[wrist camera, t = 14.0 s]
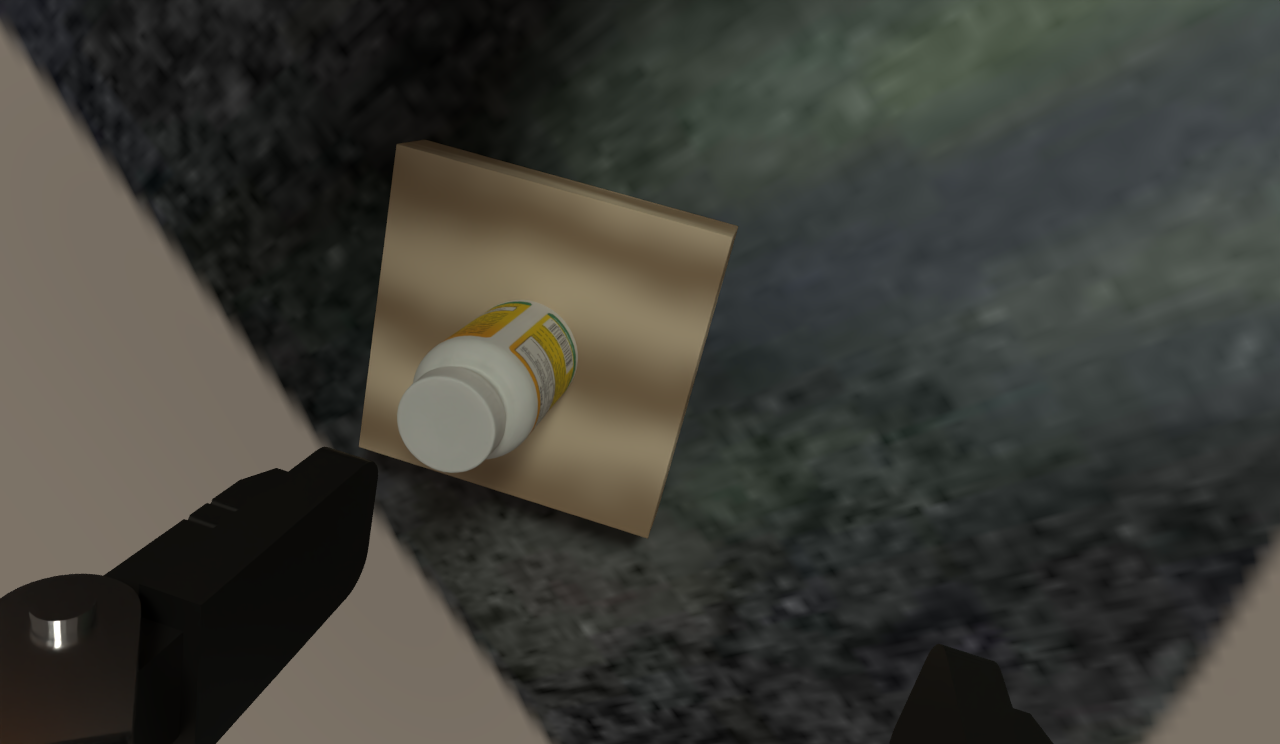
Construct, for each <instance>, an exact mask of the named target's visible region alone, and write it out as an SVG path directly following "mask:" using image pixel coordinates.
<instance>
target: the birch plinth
mask: <svg viewBox="0 0 1280 744" xmlns="http://www.w3.org/2000/svg"><path fill="white" fill-rule="evenodd" d="M737 229H738V226H735V225H732V224H728V223H725V222H721V221H717V220H714V219H710V218H707V217H703V216H699V215H696V214H692V213H688V212H685V211H681V210H678V209H674V208H670V207H667V206H663V205H660V204H656V203H652V202H649V201H645V200H641V199H638V198H634V197H631V196H627V195H623V194H620V193H616V192H613V191H609V190H605V189H602V188H598V187H594V186H591V185H587V184H584V183H580V182H576V181H573V180H569V179H566V178H562V177H558V176H555V175H551V174H547V173H544V172H540V171H537V170H533V169H529V168H526V167H522V166H519V165H515V164H511V163H508V162H504V161H500V160H497V159H493V158H490V157H486V156H482V155H479V154H475V153H472V152H468V151H464V150H461V149H457V148H453V147H450V146H446V145H443V144H439V143H435V142H432V141H428V140H419V141H413V142H406V143H400V144H397V146H396V154H395V162H394V170H393V178H392V186H391V194H390V202H389V210H388V218H387V226H386V234H385V242H384V250H383V258H382V266H381V274H380V282H379V290H378V298H377V306H376V314H375V322H374V330H373V338H372V346H371V354H370V362H369V370H368V378H367V386H366V394H365V402H364V410H363V418H362V426H361V434H360V442H359V447H361V448H364V449H368V450H371V451H374V452H377V453H380V454H383V455H387V456H390V457H393V458H396V459H399V460H402V461H405V462H409V463H412V464H415V465H418V466H421V467H424V468H427V469H431V470H434V471H437V472H440V473H443V474H446V475H450V476H453V477H456V478H459V479H462V480H465V481H468V482H472V483H475V484H478V485H481V486H484V487H487V488H490V489H494V490H497V491H500V492H503V493H506V494H509V495H513V496H516V497H519V498H522V499H525V500H528V501H531V502H535V503H538V504H541V505H544V506H547V507H550V508H553V509H557V510H560V511H563V512H566V513H569V514H572V515H576V516H579V517H582V518H585V519H588V520H591V521H594V522H598V523H601V524H604V525H607V526H610V527H613V528H617V529H620V530H623V531H626V532H629V533H632V534H635V535H639V536H642V537H645V538H648V536H649V533H650V530H651V527H652V525H653V522H654V519H655V516H656V513H657V511H658V507H659V504H660V500H661V497H662V493H663V490H664V486H665V483H666V479H667V476H668V472H669V468H670V465H671V461H672V458H673V454H674V451H675V447H676V444H677V440H678V437H679V433H680V430H681V426H682V423H683V419H684V416H685V412H686V409H687V405H688V402H689V398H690V395H691V391H692V388H693V384H694V380H695V377H696V373H697V370H698V366H699V363H700V359H701V356H702V352H703V349H704V345H705V342H706V338H707V335H708V331H709V328H710V324H711V321H712V317H713V314H714V310H715V307H716V303H717V300H718V296H719V293H720V289H721V285H722V282H723V278H724V275H725V271H726V268H727V264H728V261H729V257H730V254H731V250H732V247H733V243H734V240H735V236H736V233H737ZM513 300H530V301H534V302H537V303H540V304H543V305H545V306H547V307H548V308H550V309H552V310H553V311H554V312H556V313H557V314H558V315H559V316H560V317H561V318H562V319H563V320H564V321H565V322H566V324H567V325H568V327H569V328H570V330H571V332H572V334H573V336H574V339H575V341H576V345H577V351H578V364H577V369H576V373H575V376H574V378H573V380H572V382H571V384H570V385H569V387H568V388H567V390H566V391H565V392H564V393H563V395H562V396H561V397H560V398H559V399H558V400H557V401H556V403H555V404H554V405H553V406H552V408H551V409H550V410H549V411H548V412H547V413H546V415H545V416H544V418H543V419H542V420H541V421H540V422H539V424H538V425H537V426H536V427H535V428H534V430H533V431H532V432H531V433H530V434H529V436H528V437H527V438H526V439H525V440H524V441H523V442H522V443H521V444H520V445H519V446H518V447H517V448H516V449H514V450H513V451H511V452H509V453H507V454H505V455H503V456H500V457H497V458H492V459H486V460H484V461H483V462H482V463H481V464H480V465H479V466H477V467H475V468H473V469H471V470H468V471H465V472H458V473H448V472H442V471H438V470H436V469H433V468H431V467H429V466H427V465H425V464H423V463H422V462H420V461H419V460H418V459H417V458H416V457H415V456H414V455H413V454H412V453H411V452H410V451H409V450H408V448H407V447H406V445H405V444H404V442H403V440H402V438H401V436H400V433H399V429H398V423H397V411H398V406H399V403H400V400H401V398H402V396H403V394H404V393H405V391H406V390H407V389H408V388H409V387H410V386H411V385H412V384H413V380H414V376H415V373H416V370H417V368H418V366H419V364H420V363H421V361H422V360H423V358H424V357H425V356H426V355H427V353H428V352H429V351H431V350H432V349H433V348H434V347H436V346H437V345H438V344H440V343H441V342H443V341H444V340H446V339H447V338H448V337H450V336H451V335H453V334H454V333H456V332H457V331H459V330H460V329H462V328H463V327H465V326H466V325H468V324H469V323H471V322H472V321H473V320H475V319H476V318H478V317H479V316H481V315H482V314H484V313H485V312H487V311H488V310H490V309H491V308H493V307H494V306H496V305H498V304H501V303H504V302H508V301H513Z"/></svg>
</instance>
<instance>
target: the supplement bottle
mask: <svg viewBox="0 0 1280 744" xmlns="http://www.w3.org/2000/svg"><path fill="white" fill-rule="evenodd" d="M577 364H578V351H577V345H576V341H575V339H574V336H573V334H572V332H571V330H570V328H569V327H568V325H567V324H566V322H565V321H564V320H563V319H562V318H561V317H560V316H559V315H558V314H557V313H556V312H554V311H553V310H552V309H550V308H548V307H547V306H545V305H543V304H540V303H537V302H534V301H530V300H513V301H508V302H504V303H501V304H498V305H496V306H494V307H493V308H491V309H490V310H488V311H487V312H485V313H484V314H482V315H481V316H479V317H478V318H476V319H475V320H473V321H472V322H471V323H469V324H468V325H466V326H465V327H463V328H462V329H460V330H459V331H457V332H456V333H454V334H453V335H451V336H450V337H448V338H447V339H446V340H444V341H443V342H441V343H440V344H438V345H437V346H436V347H434V348H433V349H432V350H431V351H429V352H428V353H427V355H426V356H425V357H424V358H423V360H422V361H421V363H420V364H419V366H418V368H417V370H416V373H415V376H414V380H413V384H412V385H411V386H410V387H409V388H408V389H407V390H406V391H405V393H404V394H403V396H402V398H401V400H400V403H399V406H398V411H397V423H398V429H399V433H400V436H401V438H402V440H403V442H404V444H405V445H406V447H407V448H408V450H409V451H410V452H411V453H412V454H413V455H414V456H415V457H416V458H417V459H418V460H419V461H420V462H422V463H423V464H425V465H427V466H429V467H431V468H433V469H436V470H438V471H442V472H448V473H458V472H465V471H468V470H471V469H473V468H475V467H477V466H479V465H480V464H481V463H482V462H483V461H484V460H486V459H492V458H497V457H500V456H503V455H505V454H507V453H509V452H511V451H513V450H514V449H516V448H517V447H518V446H519V445H520V444H521V443H522V442H523V441H524V440H525V439H526V438H527V437H528V436H529V434H530V433H531V432H532V431H533V430H534V428H535V427H536V426H537V425H538V424H539V422H540V421H541V420H542V419H543V418H544V416H545V415H546V413H547V412H548V411H549V410H550V409H551V408H552V406H553V405H554V404H555V403H556V401H557V400H558V399H559V398H560V397H561V396H562V395H563V393H564V392H565V391H566V390H567V388H568V387H569V385H570V384H571V382H572V380H573V378H574V376H575V373H576V369H577Z"/></svg>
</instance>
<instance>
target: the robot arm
mask: <svg viewBox="0 0 1280 744" xmlns="http://www.w3.org/2000/svg"><path fill="white" fill-rule="evenodd" d="M377 480H378V469H377V465H376V464H375V463H374V462H372V461H369V460H366V459H363V458H360V457H357V456H354V455H350V454H347V453H344V452H341V451H338V450H335V449H332V448H328V447H322V448H320V449H318V450H317V451H315V452H314V453H313V454H311V455H310V456H309V457H307V458H306V459H305V460H303V461H302V462H301V463H299V464H298V465H297V466H295V467H294V468H293V469H291V470H290V471H289V472H287V471H284V470H281V469H278V468H275V469H272V470H269V471H266V472H263V473H260V474H257V475H254V476H251V477H248V478H245V479H242V480H239V481H238V482H236V483H235V484H233V485H232V486H231V487H229V488H228V489H226V490H225V491H223V492H222V493H221V494H219V495H218V496H216V497H215V498H213V499H212V502H211V504H208V503H207V504H205V505H203V506H202V507H201V508H199V509H198V510H196V511H195V512H194V513H192V514H191V515H190V517H189V519H188V520H185V519H184V520H182V521H181V522H179V523H178V524H176V525H175V526H174V527H172V528H171V529H169V530H168V531H166V532H165V533H164V534H162V535H161V536H159V537H158V538H157V539H155V540H154V541H152V542H151V543H149V544H148V545H147V546H145V547H144V548H142V549H141V550H140V551H138V552H137V553H135V554H134V555H132V556H131V557H129V558H128V559H127V560H125V561H124V562H122V563H121V564H120V565H118V566H117V567H115V568H114V569H112V570H111V571H110V572H108V573H107V574H105V575H104V576H101V575H95V574H94V575H93V574H69V575H60V576H54V577H50V578H45V579H42V580H38V581H35V582H31V583H29V584H27V585H24V586H22V587H19V588H17V589H15V590H13V591H11V592H10V593H8V594H6V595H5V596H3V597H2V598H0V744H216V743H217V742H218V741H219V739H220V738H221V737H222V736H223V735H224V734H225V733H226V732H227V731H228V730H229V728H230V727H231V726H232V725H233V724H234V723H235V722H236V721H237V719H238V718H239V717H240V716H241V715H242V714H243V713H244V711H245V710H246V709H247V708H248V707H249V706H250V705H251V704H252V703H253V701H254V700H255V699H256V698H257V697H258V696H259V695H260V694H261V693H262V691H263V690H264V689H265V688H266V687H267V686H268V685H269V684H270V683H271V681H272V680H273V679H274V678H275V677H276V676H277V675H278V674H279V673H280V671H281V670H282V669H283V668H284V667H285V666H286V665H287V664H288V662H289V661H290V660H291V659H292V658H293V657H294V656H295V655H296V654H297V652H298V651H299V650H300V649H301V648H302V647H303V646H304V645H305V644H306V642H307V641H308V640H309V639H310V638H311V637H312V636H313V635H314V634H315V632H316V631H317V630H318V629H319V628H320V627H321V626H322V625H323V623H324V622H325V621H326V620H327V619H328V618H329V617H330V615H332V613H333V612H334V611H335V610H336V609H337V608H338V607H339V606H340V604H341V603H342V602H343V601H344V600H345V599H346V598H347V597H348V595H349V594H350V593H351V591H352V590H353V588H354V587H355V585H356V583H357V581H358V579H359V577H360V575H361V573H362V570H363V567H364V564H365V561H366V557H367V553H368V546H369V539H370V531H371V524H372V517H373V509H374V502H375V495H376V487H377ZM890 744H1053V743H1052V741H1051V740H1050V739H1049V737H1048V736H1047V735H1046V734H1045V732H1044V731H1043V730H1042V728H1041V727H1040V726H1039V724H1038V723H1037V722H1036V721H1035V719H1034V718H1033V717H1032V715H1031V714H1030V713H1026V712H1023V711H1020V710H1017V709H1014V708H1013V707H1012V704H1011V701H1010V698H1009V695H1008V692H1007V688H1006V685H1005V682H1004V679H1003V676H1002V673H1001V670H1000V667H999V666H998V664H997V663H996V662H995V661H991V660H988V659H985V658H982V657H979V656H976V655H973V654H969V653H966V652H963V651H960V650H957V649H954V648H951V647H948V646H944V645H941V644H938V645H936V646H934V647H933V649H932V650H931V651H930V653H929V655H928V657H927V659H926V661H925V663H924V665H923V667H922V669H921V672H920V674H919V676H918V678H917V680H916V682H915V685H914V687H913V689H912V691H911V693H910V696H909V698H908V700H907V702H906V704H905V706H904V709H903V711H902V713H901V715H900V717H899V719H898V722H897V724H896V726H895V728H894V731H893V734H892V737H891V740H890Z"/></svg>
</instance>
